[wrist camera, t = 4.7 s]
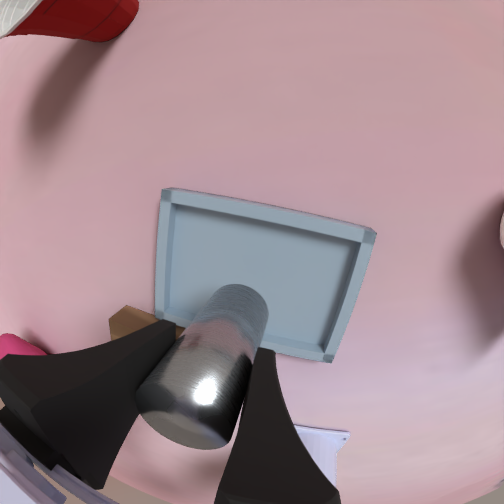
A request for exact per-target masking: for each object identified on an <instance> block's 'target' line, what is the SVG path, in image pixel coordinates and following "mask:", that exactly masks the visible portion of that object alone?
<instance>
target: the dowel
mask: <svg viewBox="0 0 504 504" xmlns="http://www.w3.org/2000/svg"><path fill="white" fill-rule="evenodd" d="M268 317H269V311H268V307H267V304H266V302H265V300H264V299H263V297H262V296H261V295H260V294H259V293H258V292H257V291H255V290H254V289H252V288H250V287H248V286H245V285H242V284H229V285H225V286H222V287H221V288H219V289H218V290H216V291H215V292H214V294H213V295H212V296H211V297H210V299H209V300H208V301H207V302H206V304H205V305H204V306H203V307H202V309H201V310H200V311H199V312H198V314H197V315H196V316H195V318H194V319H193V320H192V321H191V323H190V324H189V325H188V326H187V328H186V329H185V330H184V331H183V333H182V334H181V335H180V336H179V338H178V339H177V340H176V342H175V343H174V344H173V345H172V347H171V348H170V349H169V350H168V352H167V353H166V354H165V355H164V357H163V358H162V359H161V361H160V362H159V363H158V364H157V366H156V367H155V368H154V369H153V371H152V372H151V373H150V375H149V376H148V377H147V378H146V380H145V381H144V382H143V383H142V385H141V386H140V387H139V389H138V390H137V391H136V394H135V403H136V407H137V409H138V411H139V413H140V414H141V416H142V417H143V419H144V420H145V421H146V422H147V423H148V424H149V425H150V426H151V427H152V428H153V429H154V430H156V431H157V432H158V433H160V434H161V435H163V436H164V437H166V438H168V439H170V440H171V441H174V442H176V443H178V444H181V445H183V446H187V447H190V448H195V449H202V450H211V449H218V448H221V447H223V446H225V445H226V444H228V443H229V441H230V440H231V437H232V435H233V432H234V429H235V426H236V423H237V419H238V416H239V413H240V410H241V407H242V404H243V401H244V398H245V395H246V391H247V387H248V382H249V378H250V374H251V370H252V366H253V362H254V357H255V354H256V351H257V349H258V347H260V346H261V342H262V339H263V335H264V332H265V329H266V325H267V322H268Z"/></svg>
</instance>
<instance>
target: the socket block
mask: <svg viewBox="0 0 504 504" xmlns="http://www.w3.org/2000/svg"><path fill="white" fill-rule="evenodd" d="M159 320H160V319H157V318H155V315H152V314H149V313H146V312H144V311H141V310H138V309H135V308H133V307H130V306H127V305H126V306H125V307H123V308H122V309H121V310H120V311H118V312H117V313H116V314H114V315H113V316H112V317H111V318H109V326H110V334H111V341H113V340H115V339H118V338H121V337H123V336H126V335H128V334H130V333H132V332H135V331H137V330H139V329H141V328H144V327H146V326H148V325H150V324H152V323H155V322H157V321H159ZM185 329H186V328H184V327H181V326H178V325H176V340H177V339H178V338H179V336H180V335H181V334H182V333H183V331H184V330H185Z"/></svg>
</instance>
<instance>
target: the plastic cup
mask: <svg viewBox="0 0 504 504" xmlns="http://www.w3.org/2000/svg"><path fill="white" fill-rule="evenodd" d="M138 9H139V2H138V0H0V39H1V38H4V37H8V36H16V35H28V34H34V35H46V36H56V37H64V38H71V39H76V38H77V39H83V40H88V41H93V42H104V41H109V40H110V39H112V38H114V37H116V36H118V35H119V34H120V33H121V32H122V31H123V30H125V29H126V28H127V27H128V25H129V24H130V23H131V22H132V20H133V19H134V18H135V16H136V14H137V11H138Z"/></svg>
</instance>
